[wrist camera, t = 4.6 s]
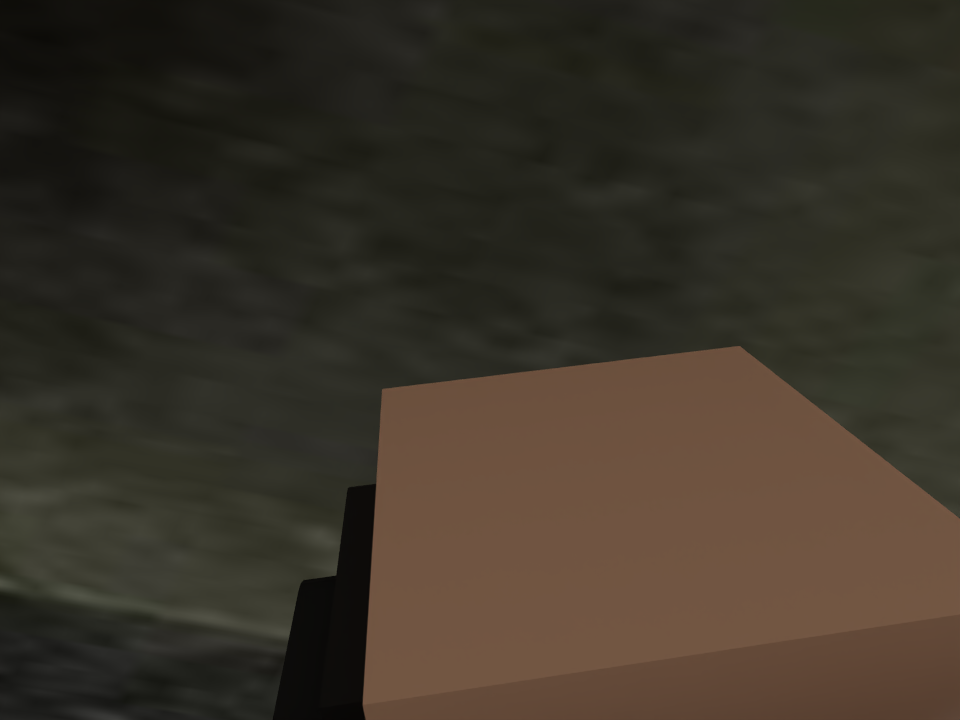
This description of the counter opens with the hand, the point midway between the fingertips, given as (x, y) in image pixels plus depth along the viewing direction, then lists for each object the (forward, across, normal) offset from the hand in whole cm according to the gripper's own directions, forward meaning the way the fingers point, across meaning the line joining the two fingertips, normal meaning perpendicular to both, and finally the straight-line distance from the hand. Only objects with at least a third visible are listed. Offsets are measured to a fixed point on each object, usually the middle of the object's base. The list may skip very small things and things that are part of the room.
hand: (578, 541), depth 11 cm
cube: (+1, 0, 0) cm, 1 cm away
